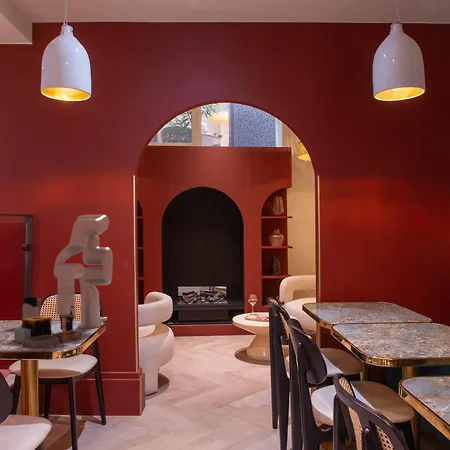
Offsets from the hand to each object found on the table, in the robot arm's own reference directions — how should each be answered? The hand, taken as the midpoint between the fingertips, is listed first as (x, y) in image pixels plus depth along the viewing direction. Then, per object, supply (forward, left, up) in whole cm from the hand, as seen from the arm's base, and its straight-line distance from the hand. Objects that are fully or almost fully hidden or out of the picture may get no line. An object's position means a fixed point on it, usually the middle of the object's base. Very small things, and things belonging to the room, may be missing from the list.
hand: (66, 329), depth 232 cm
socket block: (0, 0, -5) cm, 5 cm away
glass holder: (-10, -51, -5) cm, 53 cm away
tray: (+12, -1, -5) cm, 13 cm away
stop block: (+15, -14, -5) cm, 21 cm away
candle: (+8, -14, -5) cm, 17 cm away
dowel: (0, 0, -5) cm, 5 cm away
